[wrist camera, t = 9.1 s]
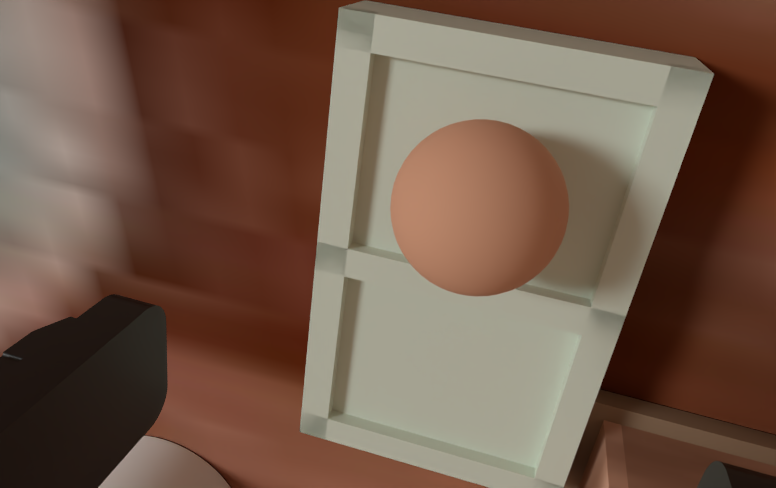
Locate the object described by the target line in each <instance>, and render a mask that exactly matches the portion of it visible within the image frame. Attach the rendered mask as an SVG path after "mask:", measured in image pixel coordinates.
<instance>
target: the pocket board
mask: <svg viewBox="0 0 776 488" xmlns="http://www.w3.org/2000/svg"><path fill="white" fill-rule="evenodd" d="M713 76H714V73H713V72H712V71H710V70H709V69H708V68H707V67H706V66H705V65H704V64H702V63H701V62H700V61H699V60H698V59H697V58H695V57H690V56H684V55H678V54H672V53H666V52H661V51H655V50H649V49H643V48H638V47H632V46H626V45H620V44H614V43H609V42H603V41H597V40H591V39H586V38H580V37H574V36H568V35H562V34H557V33H551V32H545V31H539V30H534V29H528V28H522V27H516V26H511V25H505V24H499V23H493V22H487V21H482V20H476V19H470V18H464V17H459V16H453V15H447V14H441V13H435V12H430V11H424V10H418V9H412V8H407V7H401V6H395V5H389V4H383V3H378V2H372V1H366V0H365V1H361V2H358V3H354V4H350V5H347V6H343V7H340V8H339V13H338V24H337V35H336V46H335V57H334V67H333V78H332V89H331V100H330V111H329V121H328V132H327V143H326V154H325V165H324V175H323V186H322V197H321V208H320V219H319V229H318V240H317V251H316V262H315V273H314V283H313V294H312V305H311V316H310V327H309V337H308V348H307V359H306V370H305V381H304V391H303V402H302V413H301V424H300V432H302V433H305V434H309V435H312V436H315V437H319V438H322V439H326V440H329V441H333V442H336V443H339V444H343V445H346V446H350V447H353V448H356V449H360V450H363V451H367V452H370V453H373V454H377V455H380V456H384V457H387V458H390V459H394V460H397V461H401V462H404V463H407V464H411V465H414V466H418V467H421V468H424V469H428V470H431V471H435V472H438V473H441V474H445V475H448V476H452V477H455V478H459V479H462V480H465V481H469V482H472V483H476V484H479V485H482V486H486V487H489V488H564V485H565V482H566V479H567V477H568V474H569V471H570V468H571V466H572V463H573V460H574V457H575V455H576V452H577V449H578V447H579V444H580V441H581V438H582V436H583V433H584V430H585V427H586V425H587V422H588V419H589V416H590V414H591V411H592V408H593V405H594V403H595V400H596V397H597V394H598V392H599V389H600V386H601V383H602V381H603V378H604V375H605V372H606V370H607V367H608V364H609V361H610V359H611V356H612V353H613V350H614V348H615V345H616V342H617V339H618V337H619V334H620V331H621V328H622V326H623V323H624V320H625V318H626V315H627V312H628V309H629V307H630V304H631V301H632V298H633V296H634V293H635V290H636V287H637V285H638V282H639V279H640V276H641V274H642V271H643V268H644V265H645V263H646V260H647V257H648V254H649V252H650V249H651V246H652V243H653V241H654V238H655V235H656V232H657V230H658V227H659V224H660V221H661V219H662V216H663V213H664V210H665V208H666V205H667V202H668V200H669V197H670V194H671V191H672V189H673V186H674V183H675V180H676V178H677V175H678V172H679V169H680V167H681V164H682V161H683V158H684V156H685V153H686V150H687V147H688V145H689V142H690V139H691V136H692V134H693V131H694V128H695V125H696V123H697V120H698V117H699V114H700V112H701V109H702V106H703V103H704V101H705V98H706V95H707V92H708V90H709V87H710V84H711V81H712V79H713ZM473 119H488V120H496V121H501V122H504V123H508V124H511V125H513V126H516V127H518V128H520V129H522V130H524V131H526V132H527V133H529V134H531V135H532V136H533V137H535V138H536V139H537V140H538V141H540V142H541V143H542V144H543V145H544V146H545V147H546V148H547V150H548V151H549V152H550V153H551V155H552V156H553V157H554V159H555V160H556V162H557V164H558V166H559V167H560V169H561V171H562V174H563V177H564V179H565V183H566V187H567V191H568V198H569V217H568V223H567V227H566V232H565V235H564V238H563V240H562V243H561V245H560V247H559V249H558V250H557V252H556V254H555V256H554V257H553V258H552V260H551V261H550V263H549V264H548V265H547V266H546V267H545V268H544V269H543V270H542V271H541V272H540V273H539V274H538V275H537V276H535V277H534V278H533V279H531V280H530V281H529V282H527V283H525V284H524V285H522V286H520V287H518V288H516V289H513V290H511V291H508V292H504V293H501V294H497V295H491V296H466V295H461V294H456V293H453V292H450V291H447V290H445V289H442V288H440V287H438V286H436V285H435V284H433V283H431V282H429V281H428V280H427V279H425V278H424V277H423V276H422V275H420V274H419V273H418V272H417V271H416V270H415V269H414V268H413V266H412V265H411V264H410V263H409V262H408V260H407V259H406V257H405V256H404V254H403V253H402V251H401V249H400V247H399V245H398V243H397V241H396V238H395V235H394V231H393V227H392V222H391V212H390V206H391V195H392V190H393V185H394V182H395V179H396V176H397V174H398V172H399V170H400V168H401V166H402V164H403V162H404V160H405V159H406V158H407V156H408V155H409V154H410V152H411V151H412V150H413V149H414V148H415V147H416V146H417V145H418V144H419V143H420V142H421V141H422V140H424V139H425V138H426V137H427V136H429V135H430V134H432V133H433V132H435V131H437V130H439V129H440V128H443V127H445V126H448V125H450V124H453V123H457V122H461V121H465V120H473Z"/></svg>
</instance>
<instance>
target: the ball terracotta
mask: <svg viewBox="0 0 776 488" xmlns="http://www.w3.org/2000/svg"><path fill="white" fill-rule="evenodd" d="M390 212H391V222H392V227H393V231H394V235H395V238H396V241H397V243H398V245H399V247H400V249H401V251H402V253H403V254H404V256H405V257H406V259H407V260H408V262H409V263H410V264H411V265H412V266H413V268H414V269H415V270H416V271H417V272H418V273H419V274H420V275H422V276H423V277H424V278H425V279H427V280H428V281H429V282H431V283H433V284H435V285H436V286H438V287H440V288H442V289H445V290H447V291H450V292H453V293H456V294H461V295H466V296H491V295H497V294H501V293H504V292H508V291H511V290H513V289H516V288H518V287H520V286H522V285H524V284H525V283H527V282H529V281H530V280H531V279H533V278H534V277H535V276H537V275H538V274H539V273H540V272H541V271H542V270H543V269H544V268H545V267H546V266H547V265H548V264H549V263H550V261H551V260H552V258H553V257H554V256H555V254H556V252H557V250H558V249H559V247H560V245H561V243H562V240H563V238H564V235H565V232H566V227H567V223H568V217H569V198H568V191H567V187H566V183H565V179H564V177H563V174H562V171H561V169H560V167H559V166H558V164H557V162H556V160H555V159H554V157H553V156H552V155H551V153H550V152H549V151H548V150H547V148H546V147H545V146H544V145H543V144H542V143H541V142H540V141H538V140H537V139H536V138H535V137H533V136H532V135H531V134H529V133H527V132H526V131H524V130H522V129H520V128H518V127H516V126H513V125H511V124H508V123H504V122H501V121H496V120H488V119H473V120H465V121H461V122H457V123H453V124H450V125H448V126H445V127H443V128H440V129H439V130H437V131H435V132H433V133H432V134H430V135H429V136H427V137H426V138H425V139H424V140H422V141H421V142H420V143H419V144H418V145H417V146H416V147H415V148H414V149H413V150H412V151H411V152H410V154H409V155H408V156H407V158H406V159H405V160H404V162H403V164H402V166H401V168H400V170H399V172H398V174H397V176H396V179H395V182H394V185H393V190H392V195H391V206H390Z"/></svg>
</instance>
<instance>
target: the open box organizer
mask: <svg viewBox="0 0 776 488" xmlns="http://www.w3.org/2000/svg"><path fill="white" fill-rule="evenodd" d="M714 461H720V462H724V463H728V464H731V465H735V466H738V467H742V468H746V469H749V470H753V471H757V472H760V473H764V474H768V475H771V476H775V477H776V435H773V434H769V433H765V432H762V431H758V430H754V429H750V428H746V427H742V426H739V425H735V424H731V423H727V422H723V421H719V420H716V419H712V418H708V417H704V416H700V415H696V414H693V413H689V412H685V411H681V410H677V409H673V408H670V407H666V406H662V405H658V404H654V403H650V402H647V401H643V400H639V399H635V398H631V397H627V396H624V395H620V394H616V393H612V392H608V391H604V390H601V389H599V392H598V394H597V397H596V400H595V403H594V405H593V408H592V411H591V414H590V416H589V419H588V422H587V425H586V427H585V430H584V433H583V436H582V438H581V441H580V444H579V447H578V449H577V452H576V455H575V457H574V460H573V463H572V466H571V468H570V471H569V474H568V477H567V479H566V482H565V485H564V488H697V486H698V484H699V482H700V480H701V478H702V476H703V474H704V472H705V470H706V469H707V467H708V466H709V465H710V464H711V463H712V462H714Z"/></svg>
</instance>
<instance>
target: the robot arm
mask: <svg viewBox="0 0 776 488" xmlns="http://www.w3.org/2000/svg"><path fill="white" fill-rule="evenodd" d="M166 394H167V340H166V316H165V313H164V310H163V309H162V308H161V307H159V306H156V305H153V304H149V303H145V302H142V301H138V300H134V299H131V298H127V297H123V296H120V295H115V294H113V295H109V296H107V297H105V298H103V299H102V300H101V301H99V302H98V303H97V304H95V305H94V306H93V307H91V308H90V309H89V310H87V311H86V312H85V313H83V314H82V315H81V316H79V317H78V318H77V319H76V318H73V317H68V318H66V319H63V320H61V321H58V322H55V323H53V324H50V325H48V326H45V327H42V328H40V329H37V330H35V331H33V332H31V333H30V334H28V335H27V336H25V337H24V338H23V339H21V340H20V341H18V342H17V343H16V344H14V345H13V346H11V347H10V348H8V349H7V350H6V351H4V352H3V355H2V357H0V488H98V487H99V486H100V485H101V484H102V483H103V481H104V480H105V479H106V478H107V477H108V476H109V475H110V474H111V472H112V471H113V470H114V469H115V468H116V467H117V466H118V464H119V463H120V462H121V461H122V460H123V459H124V458H125V456H126V455H127V454H128V453H129V452H130V451H131V450H132V448H133V447H134V446H135V445H136V444H137V443H138V442H139V440H140V439H141V438H142V437H143V436H144V435H145V434H146V433H147V431H148V430H149V429H150V428H151V427H152V425H153V424H154V423H155V421H156V420H157V418H158V416H159V414H160V412H161V410H162V407H163V405H164V402H165V398H166ZM697 488H776V477H775V476H771V475H768V474H764V473H760V472H757V471H753V470H749V469H746V468H742V467H738V466H735V465H731V464H728V463H724V462H720V461H714V462H712V463H711V464H710V465H709V466H708V467H707V469H706V470H705V472H704V474H703V476H702V478H701V480H700V482H699V484H698V486H697Z"/></svg>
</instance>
